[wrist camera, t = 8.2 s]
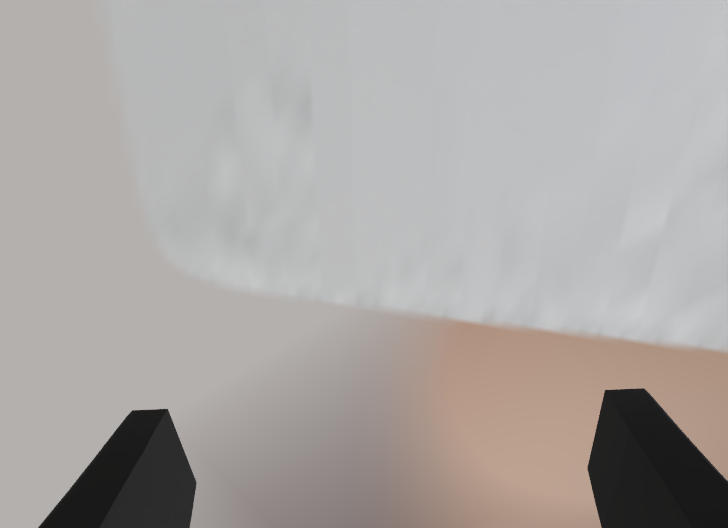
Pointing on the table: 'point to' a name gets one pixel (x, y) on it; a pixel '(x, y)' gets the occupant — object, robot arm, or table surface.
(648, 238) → the table surface
